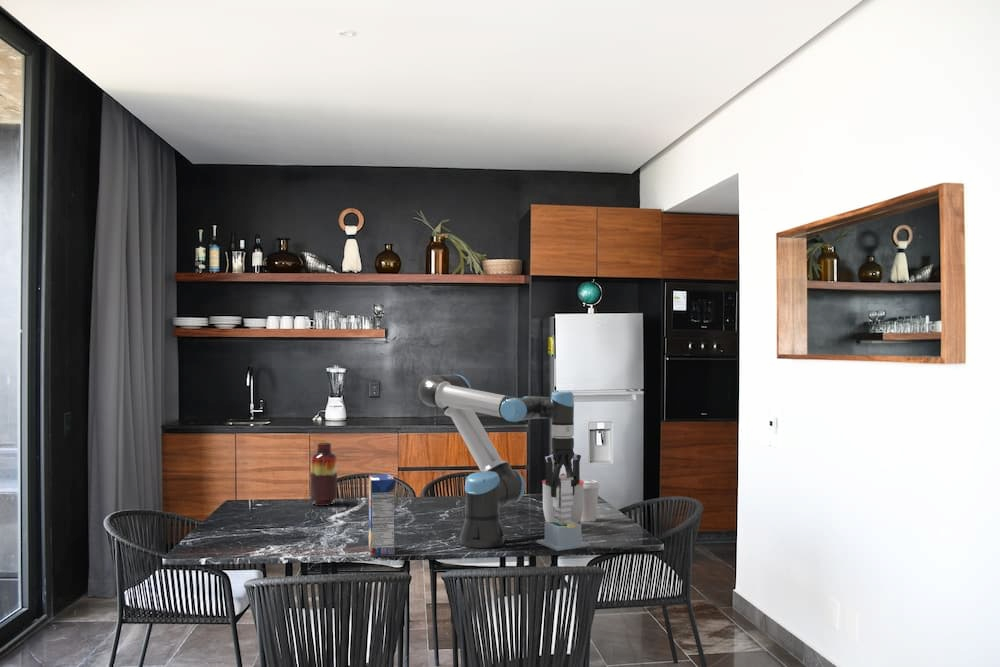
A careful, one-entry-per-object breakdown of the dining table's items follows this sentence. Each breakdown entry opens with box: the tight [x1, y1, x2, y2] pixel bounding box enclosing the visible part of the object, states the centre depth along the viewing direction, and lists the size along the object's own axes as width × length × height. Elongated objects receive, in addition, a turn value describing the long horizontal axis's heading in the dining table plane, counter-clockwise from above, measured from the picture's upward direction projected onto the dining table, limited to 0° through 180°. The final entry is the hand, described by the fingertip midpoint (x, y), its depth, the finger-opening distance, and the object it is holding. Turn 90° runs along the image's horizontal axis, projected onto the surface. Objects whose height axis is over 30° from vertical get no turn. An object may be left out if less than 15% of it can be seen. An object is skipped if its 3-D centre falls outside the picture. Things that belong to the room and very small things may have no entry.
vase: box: [310, 441, 338, 505], centre depth 332 cm, size 11×11×26 cm
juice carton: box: [368, 473, 396, 557], centre depth 252 cm, size 12×8×24 cm, turn 13°
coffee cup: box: [581, 479, 601, 523], centre depth 300 cm, size 10×10×15 cm
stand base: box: [536, 521, 591, 552], centre depth 261 cm, size 13×13×8 cm
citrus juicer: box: [541, 472, 584, 524], centre depth 288 cm, size 16×17×20 cm
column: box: [553, 474, 573, 527], centre depth 261 cm, size 5×5×18 cm
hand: (562, 505), depth 261 cm, fingers closed on column, 5 cm apart
